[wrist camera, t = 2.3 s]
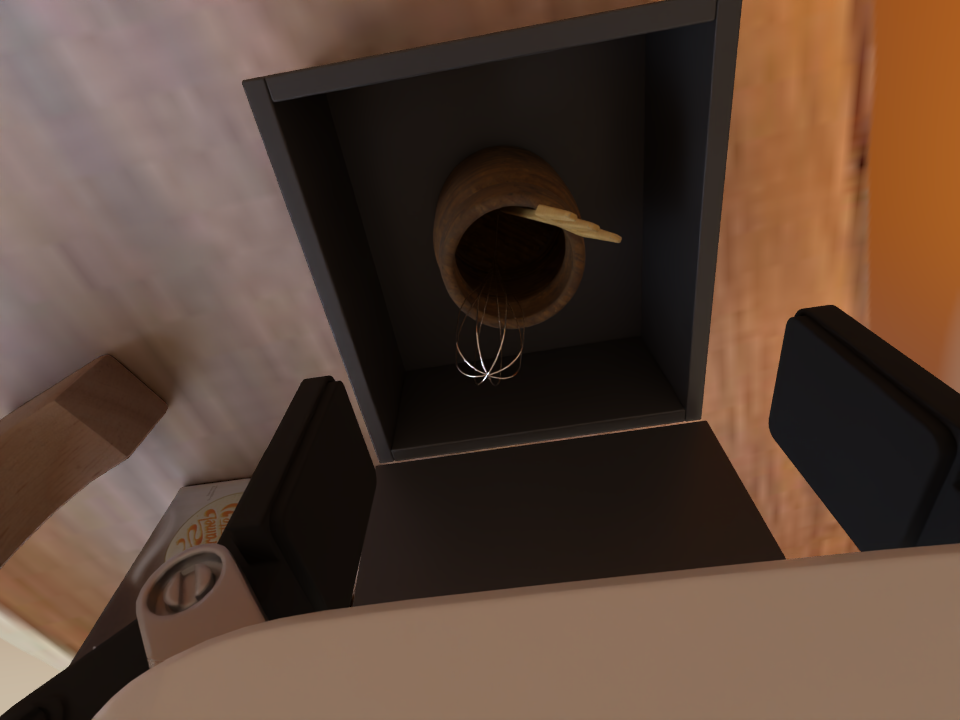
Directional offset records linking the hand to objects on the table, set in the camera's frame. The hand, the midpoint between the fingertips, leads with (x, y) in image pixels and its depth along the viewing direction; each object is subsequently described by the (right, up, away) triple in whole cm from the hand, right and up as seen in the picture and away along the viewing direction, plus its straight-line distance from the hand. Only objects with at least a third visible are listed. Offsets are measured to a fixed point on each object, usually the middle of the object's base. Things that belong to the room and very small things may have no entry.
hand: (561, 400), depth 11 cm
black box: (-1, +7, +13) cm, 15 cm away
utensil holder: (-1, +8, +13) cm, 15 cm away
